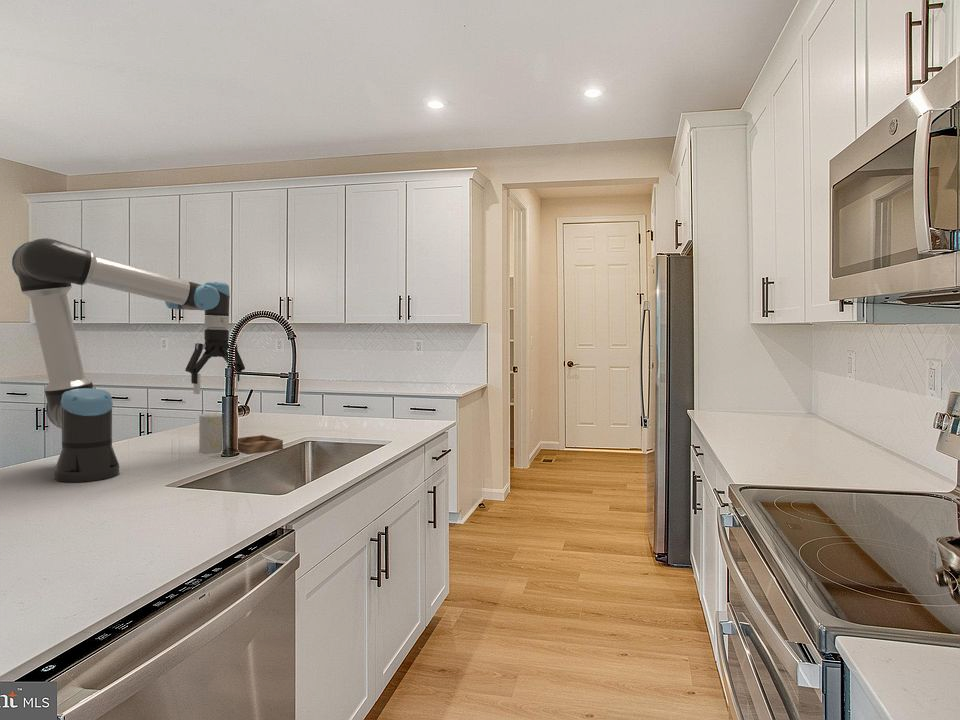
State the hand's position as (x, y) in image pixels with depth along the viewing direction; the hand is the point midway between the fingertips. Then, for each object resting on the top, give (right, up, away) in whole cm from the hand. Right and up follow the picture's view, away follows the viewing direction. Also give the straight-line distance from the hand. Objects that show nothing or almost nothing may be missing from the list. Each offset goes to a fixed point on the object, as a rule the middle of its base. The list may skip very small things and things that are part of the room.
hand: (216, 392), depth 207 cm
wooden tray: (+11, -19, +5) cm, 23 cm away
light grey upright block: (-1, -20, 0) cm, 20 cm away
